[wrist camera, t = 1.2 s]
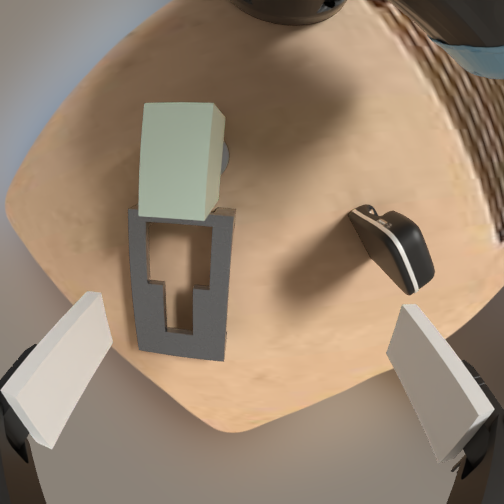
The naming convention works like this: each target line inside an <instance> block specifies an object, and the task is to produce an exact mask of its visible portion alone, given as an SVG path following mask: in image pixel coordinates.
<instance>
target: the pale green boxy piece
mask: <svg viewBox="0 0 504 504" xmlns="http://www.w3.org/2000/svg"><path fill="white" fill-rule="evenodd" d="M225 120H226V118H225V116H224V115H223V114H222V113H221V111H220V110H219V109H218V108H217V106H216V105H215V104H214V103H199V102H161V103H144V112H143V122H142V134H141V149H140V168H139V216H144V217H159V218H173V219H186V220H199V221H205V219H206V218H207V216H208V215H209V213H210V212H211V210H212V209H213V207H214V206H215V204H216V203H217V201H218V200H219V189H220V176H221V174H222V173H223V172H224V171H225V169H226V167H227V165H228V162H229V150H228V147H227V145H226V143H225V141H224V130H225Z"/></svg>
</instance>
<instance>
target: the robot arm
mask: <svg viewBox="0 0 504 504" xmlns="http://www.w3.org/2000/svg"><path fill="white" fill-rule="evenodd" d="M346 1H347V0H231V2H232V3H233V4H235V5H236V6H237V7H238V8H239V9H241V10H242V11H244V12H246V13H247V14H249V15H251V16H253V17H256V18H258V19H261V20H264V21H268V22H272V23H277V24H284V25H305V24H312V23H316V22H320V21H323V20H325V19H328V18H330V17H331V16H333V15H334V14H336V13H337V12H338V11H339V10H340V9H341V8H342V7H343V5H344V4H345V2H346ZM388 1H389V2H390V3H392V4H393V5H394V6H395V7H397V8H398V9H399V10H400V11H402V12H403V13H404V14H405V15H407V16H408V17H409V18H410V19H411V20H412V21H414V22H415V23H416V24H417V25H418V26H419V27H420V28H421V29H422V30H423V31H424V32H426V33H427V36H428V37H429V38H430V39H431V40H432V41H433V42H434V43H435V44H437V45H439V46H440V47H442V48H443V49H444V50H445V51H446V52H447V53H448V54H449V55H450V56H451V57H452V58H453V59H454V60H455V61H456V62H457V63H458V64H459V65H460V66H461V67H462V68H464V69H465V70H467V71H468V72H470V73H472V74H474V75H478V76H482V77H486V78H489V79H504V0H388ZM112 343H113V341H112V337H111V333H110V329H109V325H108V321H107V317H106V313H105V308H104V304H103V299H102V294H101V293H100V292H91V291H87V292H86V293H85V294H84V295H83V296H82V297H81V298H80V299H79V300H78V301H77V302H76V303H75V304H74V305H73V306H72V307H71V308H70V309H69V311H68V312H67V313H66V314H65V315H64V316H63V317H62V318H61V319H60V320H59V321H58V323H57V324H56V325H55V326H54V327H53V328H52V329H51V330H50V331H49V333H48V334H47V335H46V336H45V337H44V338H43V339H42V340H41V341H40V343H39V344H38V345H37V344H34V345H33V346H31V347H30V348H28V349H27V350H25V351H24V352H23V354H22V355H21V356H20V357H19V358H18V360H17V361H16V362H15V363H14V364H13V367H11V368H10V369H9V370H8V371H7V372H6V374H5V375H4V376H3V377H2V379H1V380H0V504H46V501H45V498H44V496H43V492H42V489H41V486H40V483H39V479H38V476H37V472H36V468H35V465H34V461H33V457H32V453H31V448H30V444H29V441H28V440H27V436H28V434H29V433H30V434H31V436H32V437H33V438H34V439H35V441H36V442H37V443H39V444H41V445H44V446H46V447H48V448H50V449H53V447H54V445H55V443H56V441H57V439H58V437H59V435H60V433H61V431H62V429H63V428H64V426H65V424H66V422H67V420H68V418H69V417H70V414H71V413H72V411H73V409H74V407H75V406H76V404H77V402H78V400H79V399H80V397H81V395H82V393H83V392H84V390H85V388H86V386H87V385H88V383H89V381H90V380H91V378H92V376H93V375H94V373H95V371H96V370H97V368H98V366H99V365H100V363H101V361H102V359H103V358H104V356H105V355H106V353H107V351H108V350H109V348H110V347H111V345H112ZM386 354H387V356H388V358H389V360H390V362H391V363H392V365H393V367H394V369H395V371H396V373H397V375H398V377H399V379H400V381H401V383H402V385H403V387H404V389H405V391H406V393H407V395H408V397H409V399H410V402H411V404H412V406H413V408H414V410H415V412H416V414H417V416H418V418H419V420H420V423H421V425H422V427H423V429H424V432H425V434H426V436H427V438H428V440H429V443H430V445H431V448H432V450H433V452H434V455H435V457H436V459H437V462H438V464H440V463H443V462H445V461H448V460H451V459H454V458H455V457H456V456H457V455H458V454H459V452H461V450H462V449H463V450H464V452H465V455H464V457H462V459H461V460H460V461H459V462H458V463H457V464H456V465H455V466H454V467H453V468H452V470H451V471H452V472H454V471H455V470H456V469H457V467H459V470H458V471H457V476H456V479H455V482H454V485H453V488H452V490H451V493H450V496H449V498H448V501H447V504H504V409H502V407H501V405H500V404H499V402H498V401H497V399H496V398H495V396H494V395H493V394H492V392H491V391H490V389H489V388H488V386H487V385H486V384H485V383H484V381H483V379H482V378H481V377H479V376H480V375H479V374H478V373H477V371H476V370H475V369H474V367H472V366H471V365H470V364H469V363H467V362H466V361H465V360H460V359H459V357H458V356H457V355H456V353H455V352H454V351H453V349H452V348H451V347H450V345H449V344H448V343H447V342H446V340H445V339H444V338H443V336H442V335H441V334H440V333H439V331H438V330H437V329H436V328H435V326H434V325H433V324H432V323H431V322H430V320H429V319H428V318H427V317H426V315H425V314H424V313H423V312H422V311H421V309H420V308H419V307H418V306H417V305H416V304H402V306H401V310H400V313H399V316H398V320H397V323H396V326H395V329H394V332H393V335H392V338H391V341H390V344H389V347H388V350H387V352H386Z"/></svg>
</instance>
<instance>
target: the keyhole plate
mask: <svg viewBox="0 0 504 504" xmlns="http://www.w3.org/2000/svg"><path fill="white" fill-rule="evenodd" d="M235 214H236V209H230V208H217V210H216V211H215V213H212V212H210V213H209V215H208V216H207V218H206V219H205V221H199V220H186V219H173V218H159V217H144V216H139V204H137V205H135V206H133V207H131V208H129V209H128V231H129V256H130V272H131V285H132V297H133V307H134V316H135V324H136V332H137V340H138V347H139V350H142V351H148V352H154V353H160V354H166V355H173V356H180V357H188V358H196V359H204V360H213V361H223V362H224V357H225V349H226V338H227V332H226V324H227V308H228V293H229V279H230V265H231V251H232V238H233V231H234V226H235ZM154 222H159V223H173V224H186V225H198V226H210V227H213V229H212V247H211V267H210V286H203V285H194V288H193V330H185V329H177V328H170V327H167V314H166V291H165V281H156V280H150V262H149V226H150V225H151V224H153V223H154Z"/></svg>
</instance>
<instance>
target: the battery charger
mask: <svg viewBox="0 0 504 504" xmlns="http://www.w3.org/2000/svg"><path fill="white" fill-rule="evenodd" d="M349 218H350V220H351V222H352V224H353V226H354V227H355V229H356V231H357V233H358V235H359V237H360V239H361V240H362V242H363V244H364V246H365V248H366V250H367V252H368V254H369V256H370V257H371V259H372V260H373V261H375V262H376V263H377V264H378V265H379V266H380V268H381V269H382V270H383V271H384V272H385V273H386V274H387V275H388V276H389V277H390V278H391V279H392V280H393V281H394V282H395V283H396V285H397V286H398V287H399V288H400V289H401V290H402V291H403V292H404V293H405V294H407V295H411V294H413V293H416V292H418V291H419V289H420V288H421V287H423V286H424V285H425V284H427V283H428V282H429V281H430V280H431V279H432V278H433V276H434V273H435V270H434V266H433V262H432V259H431V256H430V254H429V251H428V248H427V245H426V243H425V240H424V238H423V235H422V233H421V230H420V229H419V227H418V226H417V225H416V224H415V223H414V222H413V221H412V220H410V219H409V218H407V217H406V216H404V215H402V214H400V213H397V212H395V211H389V212H388V213H386V214H384V215H383V216H378V215H377V213H376V211H375V209H374V208H373V207H372V206H371V205H363V206H360V207H358V208H357V209H354V210H352V212H351V213H349Z"/></svg>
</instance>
